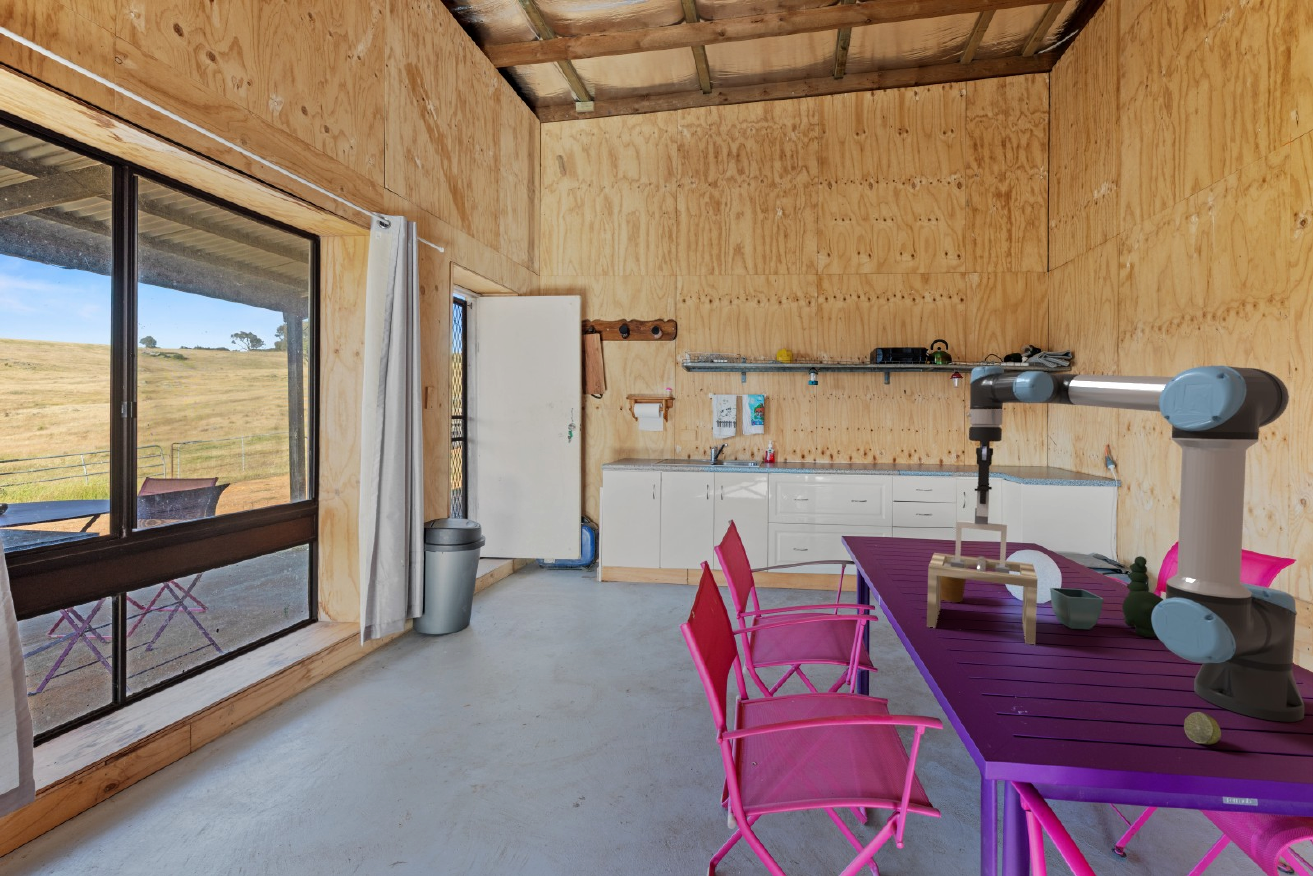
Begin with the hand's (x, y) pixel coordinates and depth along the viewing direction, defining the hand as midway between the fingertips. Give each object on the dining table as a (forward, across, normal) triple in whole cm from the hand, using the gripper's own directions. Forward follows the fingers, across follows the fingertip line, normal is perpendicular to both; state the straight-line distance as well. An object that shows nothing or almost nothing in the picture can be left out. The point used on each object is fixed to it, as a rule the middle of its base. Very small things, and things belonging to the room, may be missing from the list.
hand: (982, 514), depth 156 cm
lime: (+29, +45, +34) cm, 64 cm away
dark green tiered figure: (+30, -19, +37) cm, 51 cm away
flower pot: (+30, -12, +22) cm, 39 cm away
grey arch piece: (+15, 0, 0) cm, 15 cm away
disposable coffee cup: (+30, -20, -8) cm, 37 cm away
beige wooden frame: (+29, 0, 0) cm, 29 cm away
